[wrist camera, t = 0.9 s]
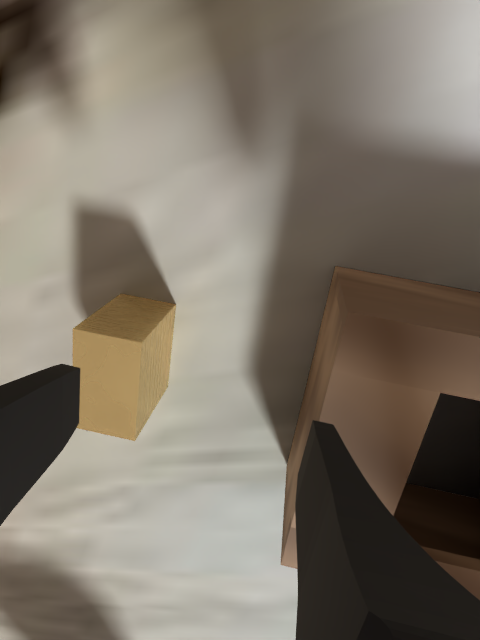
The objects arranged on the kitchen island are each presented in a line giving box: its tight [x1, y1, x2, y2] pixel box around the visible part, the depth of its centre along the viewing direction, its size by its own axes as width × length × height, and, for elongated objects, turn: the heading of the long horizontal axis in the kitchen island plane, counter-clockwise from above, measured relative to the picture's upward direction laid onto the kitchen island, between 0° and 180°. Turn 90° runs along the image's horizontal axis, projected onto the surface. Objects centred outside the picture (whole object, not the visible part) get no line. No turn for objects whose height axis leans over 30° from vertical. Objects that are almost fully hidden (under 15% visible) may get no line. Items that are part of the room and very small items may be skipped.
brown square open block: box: [281, 266, 480, 600], centre depth 19 cm, size 12×12×6 cm
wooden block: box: [73, 294, 176, 441], centre depth 21 cm, size 5×3×5 cm, turn 171°
